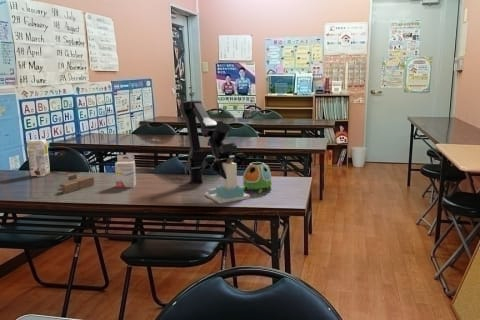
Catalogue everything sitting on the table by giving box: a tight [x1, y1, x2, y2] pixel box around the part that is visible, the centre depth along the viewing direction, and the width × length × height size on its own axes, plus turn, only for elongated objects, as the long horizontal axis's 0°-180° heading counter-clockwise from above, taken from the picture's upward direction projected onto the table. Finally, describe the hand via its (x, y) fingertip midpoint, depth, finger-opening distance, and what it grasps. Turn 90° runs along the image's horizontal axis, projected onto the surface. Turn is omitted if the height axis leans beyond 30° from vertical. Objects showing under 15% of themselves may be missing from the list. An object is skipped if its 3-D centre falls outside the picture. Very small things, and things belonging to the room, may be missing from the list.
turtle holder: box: [242, 161, 273, 194], centre depth 196 cm, size 12×18×12 cm
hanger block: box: [221, 159, 238, 190], centre depth 180 cm, size 4×4×14 cm
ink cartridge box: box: [114, 154, 137, 189], centre depth 203 cm, size 9×5×15 cm, turn 92°
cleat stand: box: [204, 184, 251, 204], centre depth 184 cm, size 14×14×5 cm
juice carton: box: [26, 138, 51, 177], centre depth 230 cm, size 8×9×19 cm
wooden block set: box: [60, 172, 95, 194], centre depth 205 cm, size 17×6×18 cm
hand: (231, 177), depth 179 cm, fingers closed on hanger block, 4 cm apart
